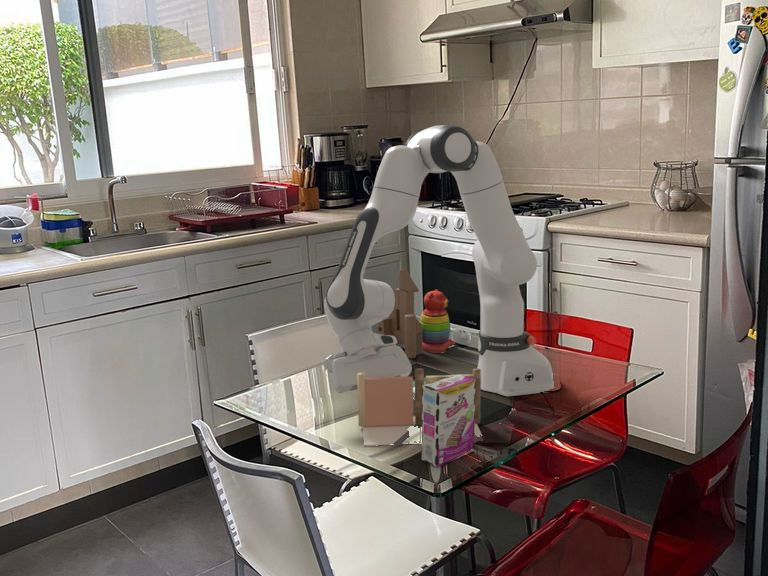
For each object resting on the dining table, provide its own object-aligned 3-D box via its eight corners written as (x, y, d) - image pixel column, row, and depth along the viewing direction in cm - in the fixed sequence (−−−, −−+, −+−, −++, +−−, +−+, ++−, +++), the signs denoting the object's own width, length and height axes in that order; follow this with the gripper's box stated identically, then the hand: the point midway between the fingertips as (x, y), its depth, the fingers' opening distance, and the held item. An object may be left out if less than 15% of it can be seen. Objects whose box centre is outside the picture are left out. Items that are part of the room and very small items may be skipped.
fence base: (479, 422, 177) (480, 366, 174) (481, 425, 175) (481, 369, 172) (414, 424, 176) (414, 368, 173) (415, 428, 174) (415, 371, 171)
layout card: (472, 415, 180) (472, 414, 180) (485, 443, 165) (485, 441, 165) (362, 420, 179) (362, 418, 179) (364, 448, 164) (364, 446, 164)
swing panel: (412, 421, 176) (412, 370, 173) (413, 424, 174) (412, 373, 171) (358, 423, 175) (357, 372, 172) (358, 426, 173) (357, 375, 171)
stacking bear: (442, 354, 228) (442, 296, 224) (412, 350, 233) (412, 292, 229) (458, 345, 237) (458, 289, 233) (429, 341, 242) (429, 286, 238)
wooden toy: (375, 348, 235) (373, 268, 230) (391, 344, 239) (390, 265, 234) (410, 359, 224) (409, 275, 218) (426, 354, 228) (426, 272, 223)
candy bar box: (437, 469, 153) (437, 391, 150) (420, 461, 157) (420, 384, 154) (476, 452, 161) (476, 378, 157) (458, 445, 164) (459, 372, 161)
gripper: (326, 349, 175) (349, 403, 169) (400, 335, 186) (424, 384, 180) (317, 363, 179) (339, 416, 173) (390, 348, 190) (414, 397, 184)
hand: (383, 400), depth 177 cm, fingers closed
